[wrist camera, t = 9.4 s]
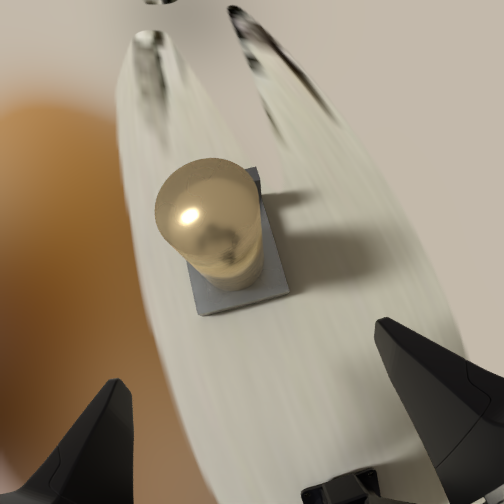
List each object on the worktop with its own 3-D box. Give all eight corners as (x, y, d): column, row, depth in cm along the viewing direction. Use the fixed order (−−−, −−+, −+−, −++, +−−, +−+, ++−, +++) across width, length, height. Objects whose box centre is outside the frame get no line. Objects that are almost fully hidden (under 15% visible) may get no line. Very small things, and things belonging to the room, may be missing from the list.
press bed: (288, 293, 23) (292, 283, 19) (202, 316, 23) (186, 310, 19) (258, 194, 26) (255, 166, 21) (181, 215, 26) (165, 191, 21)
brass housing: (271, 281, 22) (271, 238, 12) (208, 298, 22) (162, 267, 12) (255, 223, 23) (244, 147, 14) (196, 239, 23) (150, 174, 14)
